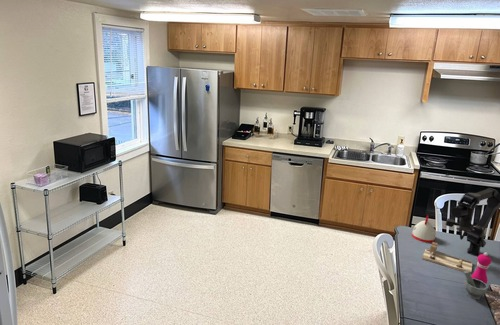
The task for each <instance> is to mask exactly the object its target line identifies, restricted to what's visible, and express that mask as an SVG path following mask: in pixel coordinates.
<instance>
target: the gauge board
mask: <svg viewBox="0 0 500 325" xmlns="http://www.w3.org/2000/svg"><path fill="white" fill-rule="evenodd" d="M430 256H431V253H430V248H427V247H426V248H425V250H424V252H423V254H422V257H421V259H422V260H425V261H427V262H430V263H433V264H437V265H439V266H440V265H441V266H444V267H446V268H449V269H450V268H451V269H454V270H456V271H460V272H463V273H464V271H470V275H472V272H473V271H472V270H473V260H469V259H465V258H462V257H458V256H456V255H451V254H448V253H445V252H441V251H438V250H436V253H435V254H433V255H432V257H430Z"/></svg>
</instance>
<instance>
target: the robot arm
mask: <svg viewBox="0 0 500 325" xmlns="http://www.w3.org/2000/svg"><path fill="white" fill-rule="evenodd" d="M484 200H486V208H485V209H484V211H483V213H482V215H481V217H480V218H479V220H478V222H477V224H473V223H472V221H473V217H474V212H475V209H477V208H478V206H477V205H479V204H480V202H481V201H484ZM457 204H458V205H456V206H455V207H453V208H452V210H451V214H452V216H453V218H456V219H458V218H459V222H458V221H456V220H455V219H453V218H447V219H446V222H445V226H446V227H447V226H448V227H453V226H455V227H456V228H455V230H457V231H458V233H459V239H460V240H463V239H464V238H465V237H466V242H469V246H468V248H467V251H466V252H467V254H470V255H474V256H477V257H478V256H479V255H480V253H481V248H485V246H486V245H487V242H486V241H485V240H486V239H485V237H486V234H485V231H486V229H487V227H488V226H489V224H490V222H491V220H492V218H493V216H494V215H495V213H496V211H497V210H499V209H500V192H499V191H498V190H496V189H494V188H491V187H487V188H486V189H484V190H480V191H478V192H466V193H464V194H463V195H462V197H461V198H460V200H459V201H458V202H457Z"/></svg>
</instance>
